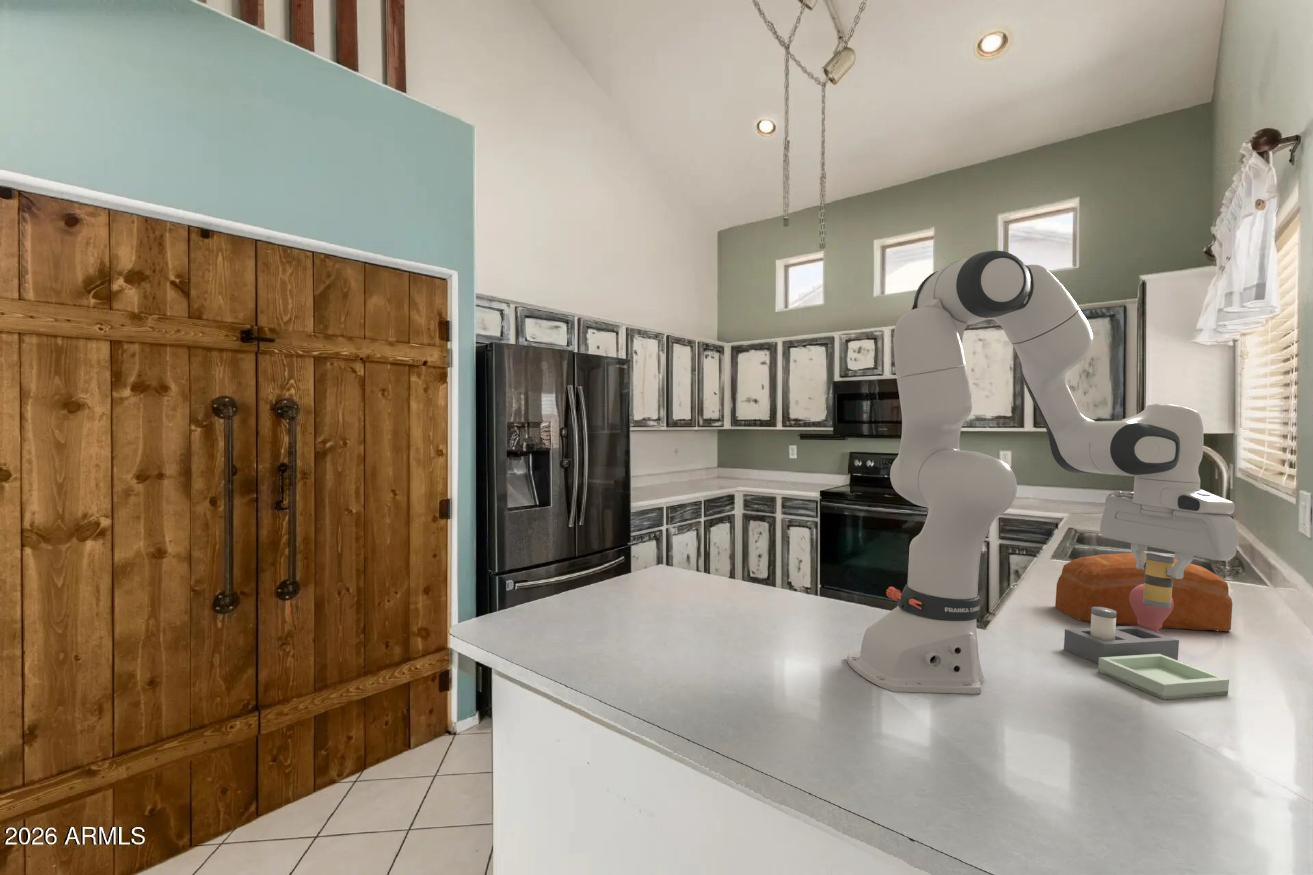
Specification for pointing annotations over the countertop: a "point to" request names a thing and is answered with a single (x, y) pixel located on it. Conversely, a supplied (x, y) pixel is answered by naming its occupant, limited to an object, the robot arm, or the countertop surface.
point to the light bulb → (1148, 611)
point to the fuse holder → (1120, 643)
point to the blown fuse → (1158, 580)
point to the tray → (1163, 676)
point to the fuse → (1103, 623)
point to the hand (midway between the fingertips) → (1158, 573)
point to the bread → (1116, 576)
